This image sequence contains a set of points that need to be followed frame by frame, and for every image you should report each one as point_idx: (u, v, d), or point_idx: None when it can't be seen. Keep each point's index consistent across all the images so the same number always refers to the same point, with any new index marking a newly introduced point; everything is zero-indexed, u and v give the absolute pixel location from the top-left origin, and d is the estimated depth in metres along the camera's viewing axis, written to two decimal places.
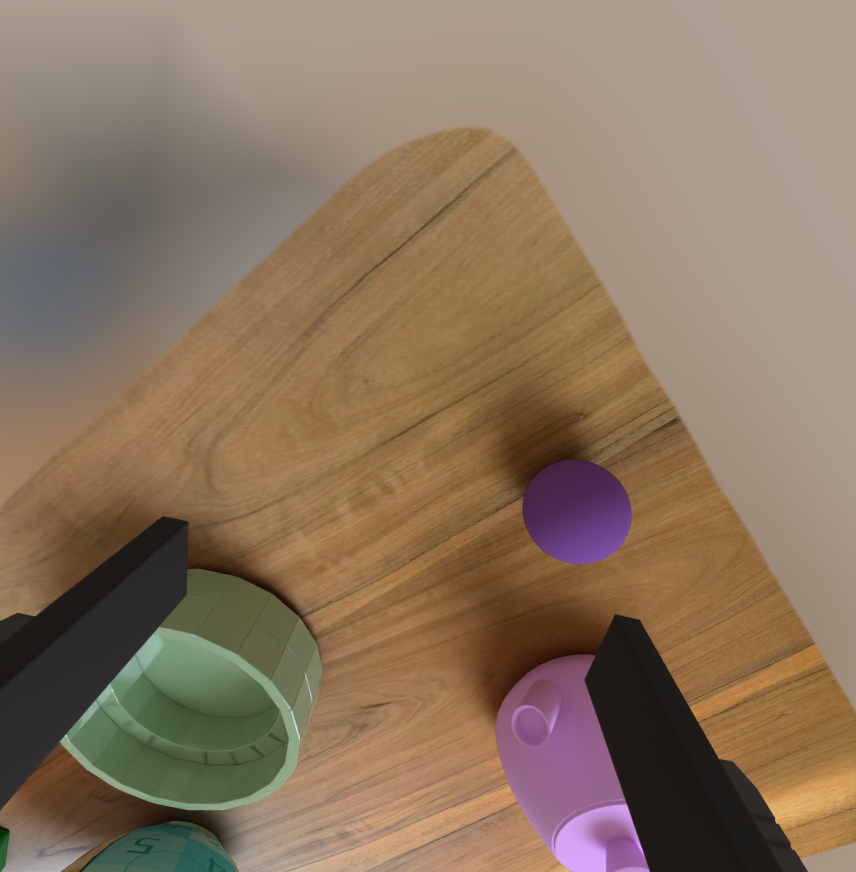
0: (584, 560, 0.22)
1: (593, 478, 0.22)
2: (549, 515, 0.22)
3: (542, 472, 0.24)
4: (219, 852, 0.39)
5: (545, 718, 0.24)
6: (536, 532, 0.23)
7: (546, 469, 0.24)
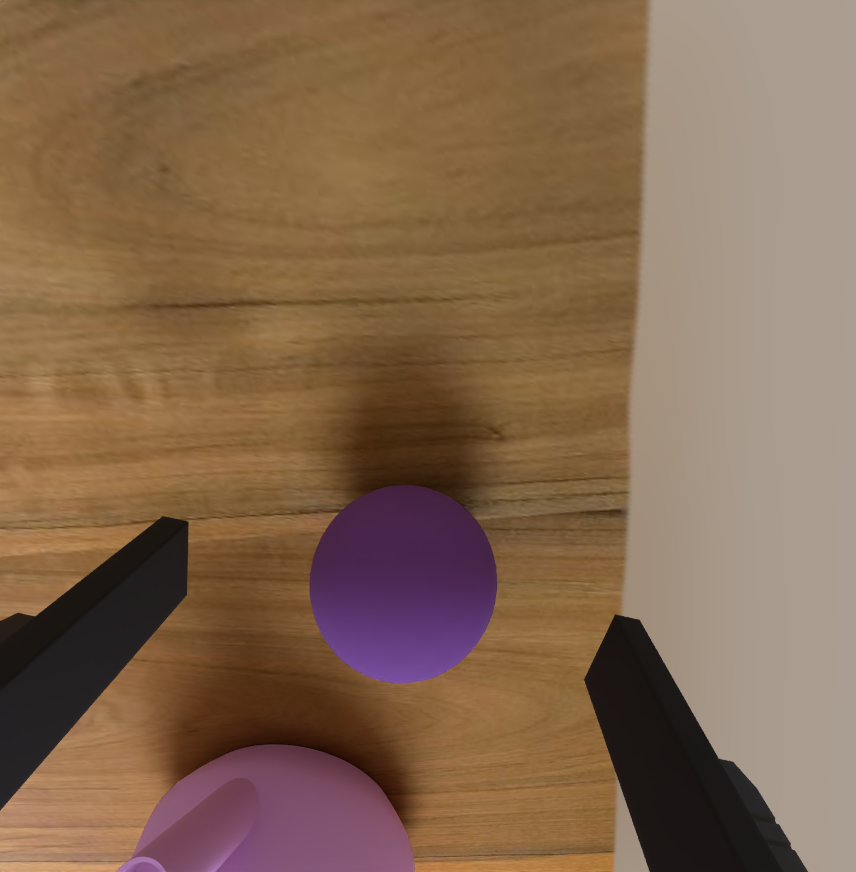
0: (366, 674, 0.12)
1: (455, 545, 0.12)
2: (345, 572, 0.11)
3: (385, 490, 0.13)
4: None
5: None
6: (314, 588, 0.12)
7: (394, 489, 0.13)
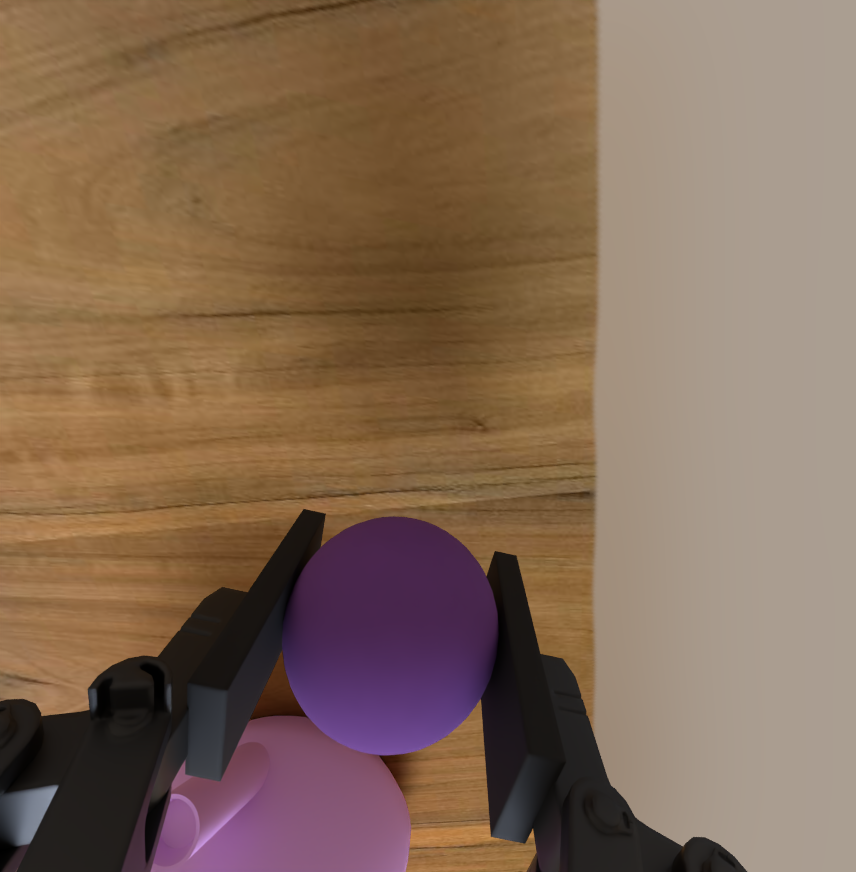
0: (347, 746, 0.10)
1: (451, 595, 0.10)
2: (320, 629, 0.09)
3: (370, 525, 0.11)
4: None
5: (198, 828, 0.15)
6: (286, 644, 0.10)
7: (380, 523, 0.11)
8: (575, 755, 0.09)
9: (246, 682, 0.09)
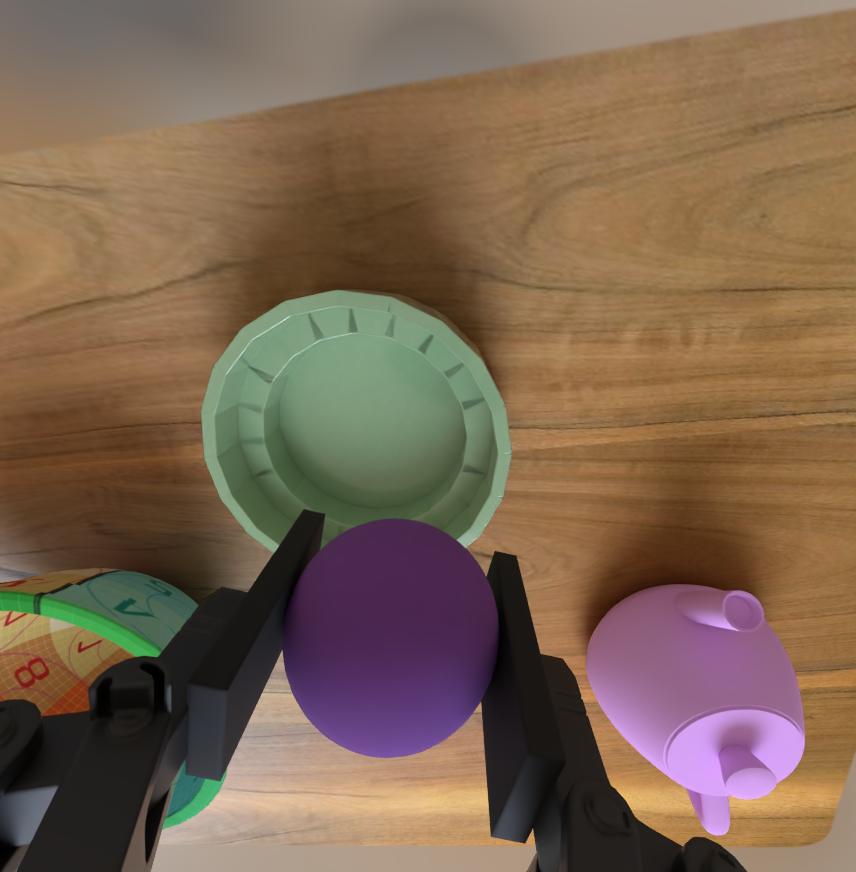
0: None
1: (451, 597, 0.10)
2: (321, 632, 0.09)
3: (370, 527, 0.11)
4: None
5: (761, 609, 0.24)
6: (286, 646, 0.10)
7: (381, 525, 0.11)
8: (576, 755, 0.09)
9: (246, 682, 0.09)
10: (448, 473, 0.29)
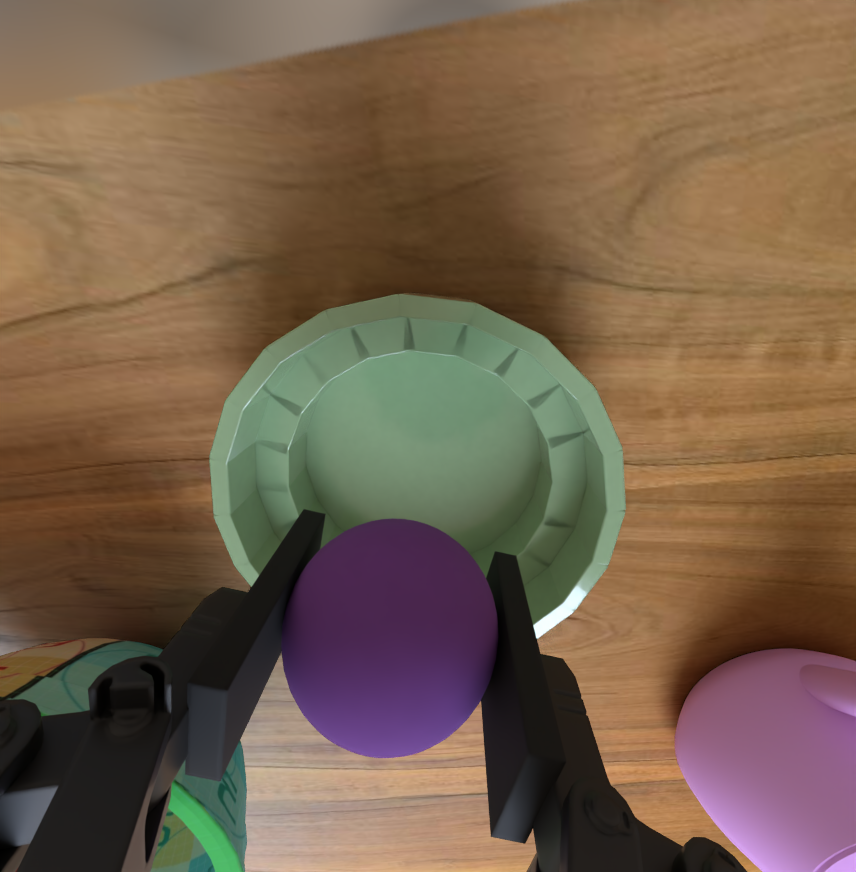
0: (346, 749, 0.10)
1: (450, 597, 0.10)
2: (320, 632, 0.09)
3: (369, 527, 0.11)
4: None
5: None
6: (285, 647, 0.10)
7: (380, 525, 0.11)
8: (576, 755, 0.09)
9: (246, 682, 0.09)
10: (515, 520, 0.24)
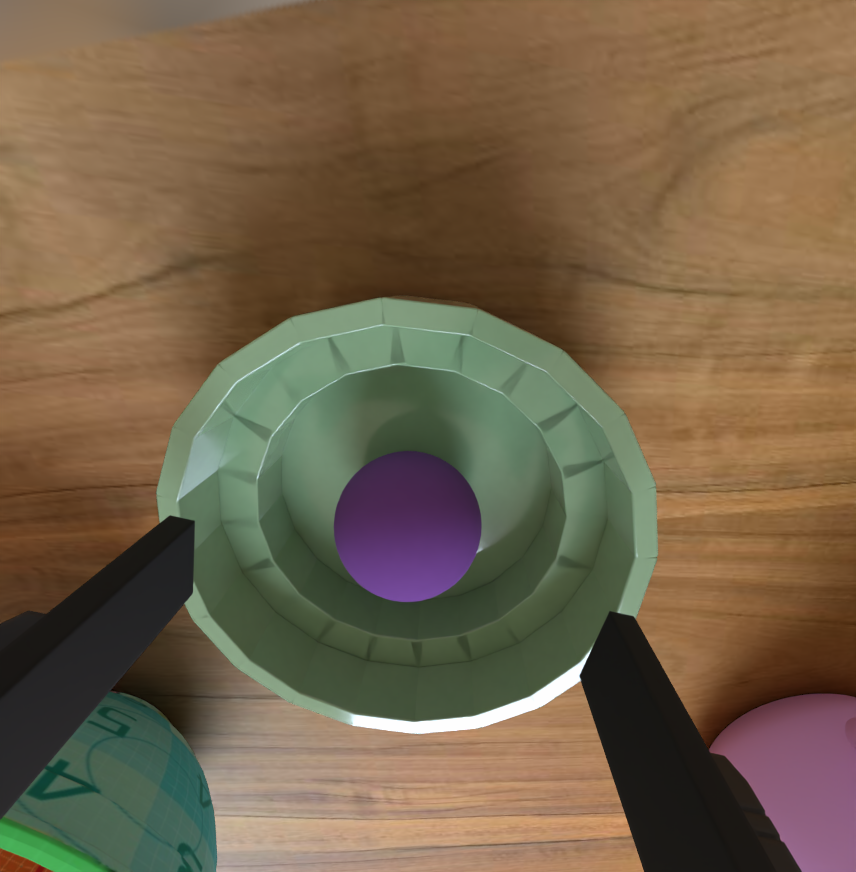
0: (380, 592, 0.15)
1: (448, 491, 0.15)
2: (364, 511, 0.15)
3: (393, 453, 0.17)
4: (200, 767, 0.24)
5: None
6: (339, 527, 0.15)
7: (400, 452, 0.17)
8: None
9: (6, 736, 0.07)
10: (521, 554, 0.21)
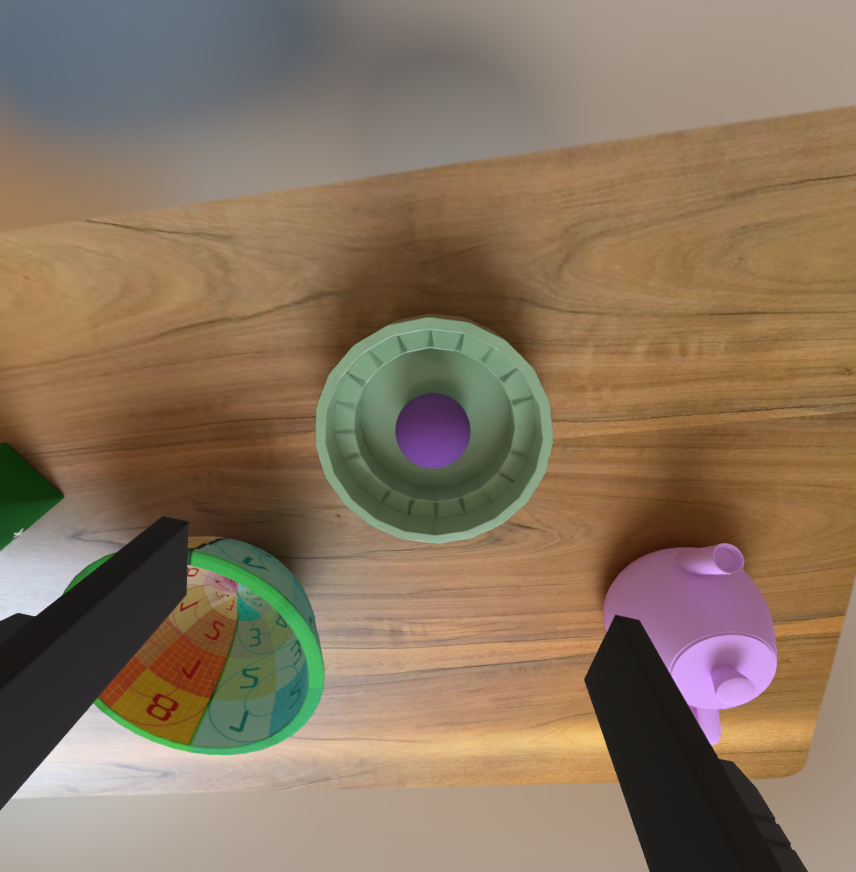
0: (420, 458, 0.31)
1: (453, 409, 0.31)
2: (413, 417, 0.31)
3: None
4: None
5: (742, 556, 0.31)
6: (400, 427, 0.31)
7: (429, 393, 0.33)
8: None
9: None
10: (494, 458, 0.37)
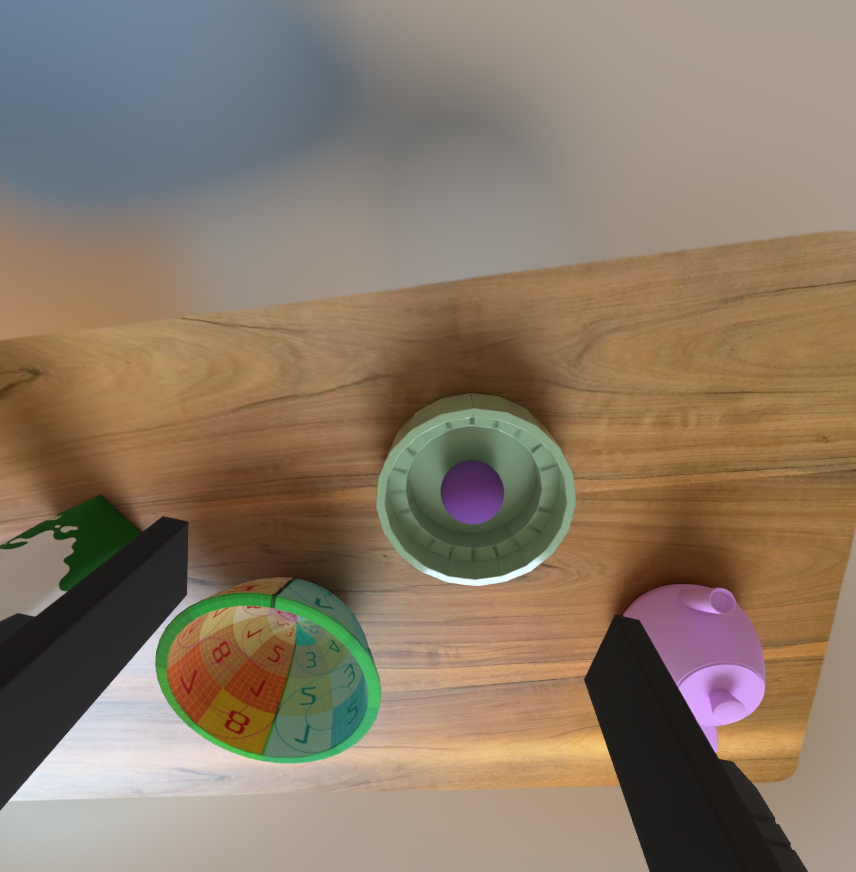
0: (462, 518, 0.37)
1: (491, 477, 0.37)
2: (458, 484, 0.37)
3: (466, 461, 0.39)
4: None
5: (734, 599, 0.37)
6: (445, 491, 0.38)
7: (469, 461, 0.39)
8: None
9: None
10: (522, 509, 0.43)
